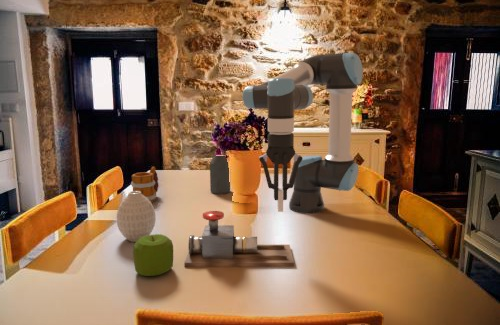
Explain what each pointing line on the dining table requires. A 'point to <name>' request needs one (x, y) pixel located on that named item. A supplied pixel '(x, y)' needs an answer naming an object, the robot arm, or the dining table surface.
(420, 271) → the dining table surface
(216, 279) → the dining table surface
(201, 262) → the board
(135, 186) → the mug
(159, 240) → the apple
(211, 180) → the bottle
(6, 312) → the dining table surface
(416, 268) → the dining table surface
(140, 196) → the vase
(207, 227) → the gate valve
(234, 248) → the pipe
